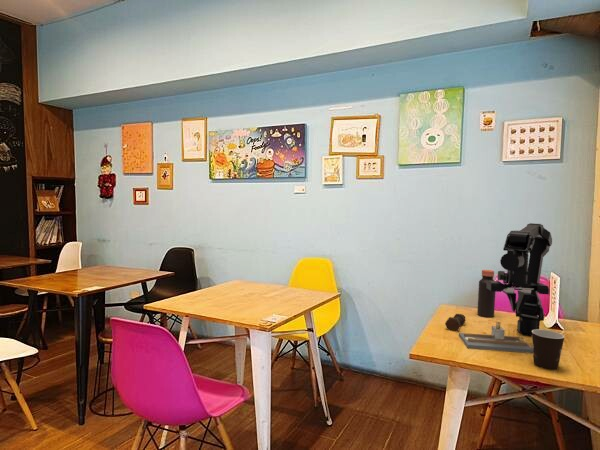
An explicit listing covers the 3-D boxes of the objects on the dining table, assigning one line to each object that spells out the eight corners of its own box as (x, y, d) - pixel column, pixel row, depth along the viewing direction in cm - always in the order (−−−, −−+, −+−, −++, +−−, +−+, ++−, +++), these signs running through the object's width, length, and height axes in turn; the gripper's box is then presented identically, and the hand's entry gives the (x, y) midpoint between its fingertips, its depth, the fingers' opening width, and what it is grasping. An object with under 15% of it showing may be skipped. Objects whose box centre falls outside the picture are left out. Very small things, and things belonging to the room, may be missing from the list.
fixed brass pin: (523, 341, 143) (523, 337, 143) (525, 343, 141) (525, 339, 141) (517, 341, 143) (518, 337, 143) (519, 343, 142) (520, 338, 141)
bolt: (463, 326, 169) (453, 335, 157) (452, 318, 172) (442, 326, 159) (471, 316, 168) (462, 323, 155) (460, 308, 170) (450, 314, 158)
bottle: (497, 317, 177) (500, 272, 176) (483, 317, 176) (486, 272, 175) (487, 313, 184) (489, 269, 183) (474, 313, 183) (476, 269, 181)
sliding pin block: (500, 338, 145) (500, 321, 145) (503, 342, 141) (504, 324, 141) (491, 338, 146) (492, 320, 145) (494, 341, 142) (495, 323, 141)
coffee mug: (553, 373, 120) (555, 340, 119) (524, 363, 127) (525, 331, 126) (572, 365, 126) (574, 334, 125) (543, 356, 133) (545, 326, 132)
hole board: (519, 340, 149) (520, 334, 148) (534, 353, 136) (535, 346, 136) (458, 335, 152) (459, 329, 152) (467, 348, 139) (468, 341, 139)
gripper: (537, 265, 148) (534, 307, 149) (483, 262, 150) (480, 304, 151) (551, 270, 137) (548, 315, 138) (492, 267, 139) (490, 312, 140)
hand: (515, 311), depth 142 cm, fingers closed
